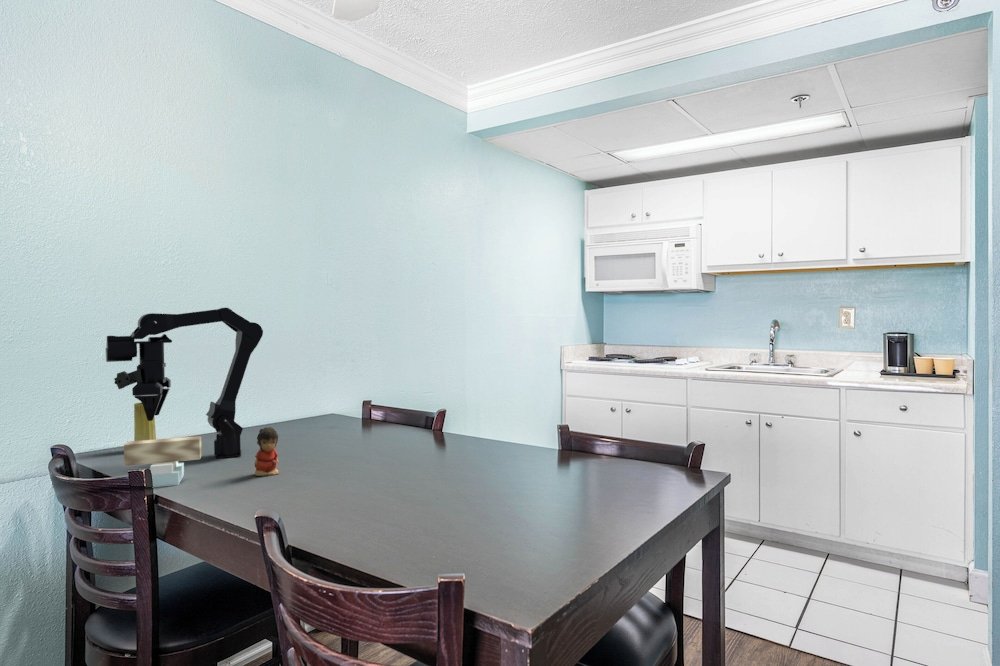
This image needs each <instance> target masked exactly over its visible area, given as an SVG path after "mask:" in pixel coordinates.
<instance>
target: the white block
mask: <svg viewBox="0 0 1000 666" xmlns="http://www.w3.org/2000/svg"><path fill="white" fill-rule="evenodd" d="M149 469H150V470H151V473H152V479H153V485H154V487H153V488H160V487H169V486H170V487H171V486H179V484H180V483H181V481H182V479H183V477H184V475H185V462H179V461H175V462H164V463H152V464H151V465H150V467H149Z"/></svg>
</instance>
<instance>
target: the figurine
mask: <svg viewBox="0 0 1000 666" xmlns="http://www.w3.org/2000/svg"><path fill="white" fill-rule="evenodd" d="M258 432H259V433H258V434H257V437H256V439H257V441H256V444H257V445H258V446H259V450H258V451H257V453H256V455H255V456H254V457H255V458H256V459H255V460H254V468H255V471H254V476H257V477H267V476H270V477H271V476H276V475H279V474H280V473H279V470H278V469H277V464H278V463H279V459H278V455H279V454H278V452H277V450H276V449H275V448H276V447H277V443H278V442H279V435H278V432H277V431H276V429H275V428H273V427H271V426H266V427H264V428H260V429H259V431H258Z"/></svg>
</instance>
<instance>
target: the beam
mask: <svg viewBox="0 0 1000 666" xmlns="http://www.w3.org/2000/svg"><path fill="white" fill-rule="evenodd" d="M202 450H203V449H202V435H201V436H200V435H199V436H198V435H196V436H183V437H172V438H160V439H159V438H156V440H142V441H134V440H132V441H131V440H130V441H126V442H125V443H124V444H123V460H124V462H123V464H124V466H125V467H127V466H137V465H149V464H151V465H152V464H153V463H164V462H175V461H178V462H184V461H185V462H187V461H195V460H201V458H202Z"/></svg>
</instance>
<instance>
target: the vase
mask: <svg viewBox="0 0 1000 666" xmlns="http://www.w3.org/2000/svg"><path fill="white" fill-rule="evenodd" d="M133 406H134V407H133V408H134V409H133V413H134V414H133V415H134V416H133V417H134V418H133V420H134V437H133V438H134V439H133V441H142V440H156V439H157V431H156V421H155V420H156V419H155V416H156V415H155V416H154V418H153V420H152V421H148V420H147V417H146V413H145V410H144V407H143V404H142V402H141V401H140V402H136V403H134V404H133Z"/></svg>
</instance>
